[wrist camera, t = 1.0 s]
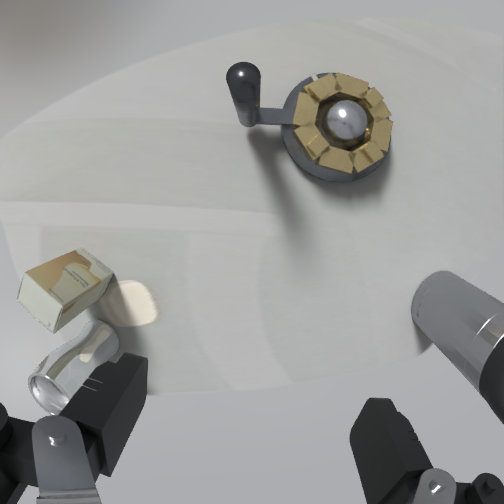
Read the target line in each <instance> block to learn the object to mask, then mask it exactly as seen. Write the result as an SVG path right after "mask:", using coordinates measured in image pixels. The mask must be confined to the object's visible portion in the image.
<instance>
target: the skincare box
mask: <svg viewBox="0 0 504 504" xmlns="http://www.w3.org/2000/svg"><path fill="white" fill-rule="evenodd" d="M112 276H113V273H112V272H111V271H110V270H109V269H108V268H106V267H105V266H104V265H103V264H102V263H100V262H99V261H98V260H97V259H95V258H94V257H93V256H91V255H90V254H89V253H87V252H86V251H85V250H83V249H82V248H79V249H77V250H74V251H72V252H70V253H67V254H65V255H63V256H60V257H58V258H56V259H53V260H51V261H49V262H46V263H44V264H42V265H40V266H37V267H35V268H33V269H31V270H29V271H26V272H25V273H24V275H23V279H22V282H21V285H20V289H19V292H18V296H17V301H18V302H19V303H20V304H21V305H22V306H23V307H24V308H25V309H26V310H27V311H28V312H29V313H30V314H31V315H32V316H33V317H34V318H35V319H36V320H38V321H39V322H40V323H41V324H42V325H43V326H44V327H46V328H47V329H48V330H49V331H50V332H51V333H52V334H55V333H56V332H57V331H58V330H59V329H61V328H62V327H63V326H64V325H66V324H67V323H68V322H70V321H71V320H72V319H73V318H75V317H76V316H77V315H79V314H80V313H81V312H82V311H84V310H85V309H86V308H88V307H89V306H90V305H91V304H93V303H94V302H95V301H97V300H98V299H99V298H101V297H102V296H103V294H104V292H105V290H106V288H107V286H108V284H109V282H110V280H111V278H112Z"/></svg>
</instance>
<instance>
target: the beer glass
mask: <svg viewBox="0 0 504 504" xmlns="http://www.w3.org/2000/svg"><path fill="white" fill-rule="evenodd" d="M118 349H119V338H118V336H117V334H116V332H115V331H114V329H113V328H112V327H111V326H110V325H109V324H107V323H106V322H104V321H101V320H91V321H89V322H88V323H87V324H86V325H85V326H84V328H83V330H82V331H81V333H80V334H79V335H78V336H77V337H76V338H74V339H72V340H70V341H69V342H67V343H65V344H63V345H61V346H60V347H58V348H57V349H55V350H54V351H52V352H51V353H50V354H49V355H48V356H47V357H46V358H45V359H44V360H43V361H42V362H41V363H40V364H39V366H38V367H37V368H36V369H35V371H34V372H33V373H32V374H31V375H30V376H29V378H28V386H29V390H30V392H31V394H32V396H33V397H34V399H35V400H36V402H37V403H38V404H39V405H40V406H41V407H42V408H43V409H44V410H45V411H46V412H48V413H49V414H51V415H59V414H60V412H61V411H62V410H63V408H64V407H65V406H66V405H67V403H68V402H69V401H70V399H71V398H72V397H73V396H74V394H75V393H76V392H77V391H78V389H79V388H80V387H81V386H82V385H83V383H84V382H85V380H86V379H88V378H89V375H90V374H91V373H92V372H93V370H94V369H95V368H96V367H98V366H100V365H101V364H103V363H105V362H106V361H107V360H108V359H109V358H111V357H112V356H113V355H115V354H116V352H117V351H118Z"/></svg>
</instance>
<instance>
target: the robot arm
mask: <svg viewBox="0 0 504 504" xmlns="http://www.w3.org/2000/svg"><path fill="white" fill-rule="evenodd" d="M412 317H413V320H414V322H415V324H416V325H417V326H418V327H419V328H420V329H421V330H422V331H423V332H424V333H425V334H426V336H427V337H428V338H429V339H430V340H431V341H432V342H433V343H434V344H435V345H436V346H437V347H438V348H439V349H440V350H441V351H442V353H443V354H444V355H445V356H446V357H447V358H448V359H449V360H450V361H451V362H452V363H453V364H454V365H455V366H456V368H457V369H458V370H459V371H460V372H461V373H462V374H463V375H464V376H465V378H467V380H468V381H469V382H470V383H471V384H472V385H473V386H474V387H475V389H476V390H477V391H478V392H479V393H480V394H481V395H482V397H483V398H484V399H485V400H486V401H487V403H488V404H489V405H490V407H491V409H492V410H493V411H494V413H495V414H496V415H497V417H498V418H499V419H500V421H501V422H502V423H503V424H504V303H502V302H501V301H499V300H497V299H496V298H494V297H492V296H491V295H489V294H487V293H486V292H484V291H482V290H481V289H479V288H477V287H476V286H474V285H472V284H471V283H469V282H467V281H466V280H464V279H462V278H460V277H459V276H457V275H455V274H453V273H451V272H448V271H440V272H437V273H434V274H432V275H431V276H429V277H428V278H427V279H426V280H425V281H424V282H423V283H422V284H421V285H420V287H419V288H418V290H417V292H416V294H415V296H414V299H413V303H412ZM147 373H148V359H147V358H145V357H142V356H139V355H135V354H132V353H129V352H125V353H124V354H123V355H122V357H121V358H120V359H119V361H118V362H117V363H116V364H115V363H112V362H109V361H107V362H105V363H103V364H101V365H100V366H98V367H96V368H95V369H94V370H93V372H92V373H91V374H90V375H89V378H88V379H86V380H85V382H84V383H83V385H82V386H81V387H80V388H79V389H78V391H77V392H76V393H75V394H74V396H73V397H72V398H71V399H70V401H69V402H68V403H67V405H66V406H65V407H64V408H63V410H62V411H61V412H60V414H59V415H50V416H45V417H43V418H41V419H39V420H38V421H37V422H36V423H34V422H29V421H25V420H20V419H17V418H13V417H9V416H8V413H7V411H6V408H5V407H4V406H3V405H2V404H1V403H0V504H17V502H18V501H19V499H20V497H21V495H22V494H23V492H24V491H25V488H26V487H27V486H28V485H31V486H35V487H39V494H40V495H39V497H37V501H36V502H37V504H102V503H101V500H100V497H99V494H98V491H97V489H96V485H95V482H96V480H97V478H98V476H99V474H100V473H101V474H103V475H106V476H108V477H111V474H112V472H113V470H114V468H115V466H116V464H117V461H118V459H119V457H120V455H121V453H122V451H123V449H124V447H125V445H126V442H127V440H128V438H129V436H130V434H131V432H132V430H133V428H134V426H135V423H136V421H137V419H138V417H139V415H140V413H141V411H142V409H143V407H144V403H145V400H146V394H147ZM350 445H351V448H352V451H353V455H354V458H355V462H356V465H357V468H358V472H359V476H360V479H361V483H362V487H363V490H364V494H365V497H366V501H367V504H504V486H503V484H502V482H501V481H500V479H499V478H497V477H496V476H495V475H493V474H490V473H482V474H480V475H479V476H478V477H477V478H476V479H475V480H474V481H473V482H472V483H458V482H455V480H454V478H453V477H452V476H451V475H450V474H449V473H448V472H446V471H444V470H442V469H437V468H433V466H432V464H431V462H430V460H429V458H428V456H427V454H426V452H425V450H424V448H423V446H422V445H421V443H420V441H418V437H417V435H416V433H414V429H413V428H412V425H411V424H410V422H409V420H408V419H407V418H406V417H405V416H403V415H402V414H401V413H400V412H397V410H396V408H395V406H394V404H393V402H392V401H391V399H389V398H369V399H368V400H367V401H366V403H365V405H364V407H363V409H362V410H361V412H360V414H359V416H358V418H357V419H356V421H355V423H354V425H353V427H352V429H351V432H350Z"/></svg>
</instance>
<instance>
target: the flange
mask: <svg viewBox="0 0 504 504" xmlns="http://www.w3.org/2000/svg"><path fill="white" fill-rule="evenodd" d="M328 74H330V73H322V74H318V75H316V74H315V73H313V74H311V75H310V76H311V77H309V78H307V79H305V80H304V81H302V82H301V83H299V84H298V85H297V86H296V87H295V88H294V89H293V90H292V91H291V93H290V94H289V96H288V97H287V100H286V102H285V104H284V107H283V109H291V110H294V108H295V103H296V99H297V96H298V94H299V92H301V91H302V89H303V87H304V86H306V85H308V84H310V83H312V82H314V81H316V80H318V79H320V78H322V77H324V76H326V75H328ZM336 74H337V73H332V75H333V76H335V75H336ZM369 89H371V88H369V87H368V90H369ZM386 119H388V120H389V117H387V118H386ZM315 126H316V127H317V129H318V130H319V132H320V133H321V135H322V136H323V138H324V139H325V140H326V141H327V142H328V143H329V144H330V145H329V146H332V147H336V148H339V149H343V150H346V151H351V150H352V149H354V148H356V147H358V146H359V145H361V144H363V141H364V136H365V131H366V127H367V116H366V113H365V111H364V110H363V108H362V107H361V106H360V105H358V104H357V103H355V102H353V101H349V100H342V99H339V98H336V97H332V98H331V99H329V100H327V101H325V102H323V103H321V104H319V106H318V111H317V116H316V120H315ZM280 127H281V135H282V138H283V142H284V144H285V147H286V149H287V151H288V152H289V154H290V156H291V157H292V158H293V160H294V161H295V162H296V163H297V164H298V165H299V166H300V167H301V168H302V169H304V170H305V171H306V172H308V173H310V174H311V175H313V176H315V177H317V178H320V179H323V180H328V181H335V182H348V181H353V180H357V179H360V178H363V177H365V176H366V175H368V174H370V173H371V172H373V171H374V170H375V169H376V168H377V167H378V166H379V165H380V163H381V162H382V161H383V159H384V157H385V156H386V154H387V152H383V156H384V157H383V158H381V159H380V160H378V161H377V162H375V163H373V164H372V165H370V166H368V167H367V168H365V169H363V170H362V171H360V172H358V173H352V174H344V173H341V172H337V171H334V170H330V169H326V168H323V167H319V166H315V162H316V159H314V160H312V161H309V160H308V159H307V157H306V155H305V154H304V152H303V151H302V149H301V148H300V146H299V144H298V143H297V141H296V140H295V138H294V137H293V135H292V132H293V131H294V130H295V128H291V127H290V126H283V125H280ZM390 139H391V136H390ZM389 145H390V141H389ZM388 149H389V147H388Z"/></svg>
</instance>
